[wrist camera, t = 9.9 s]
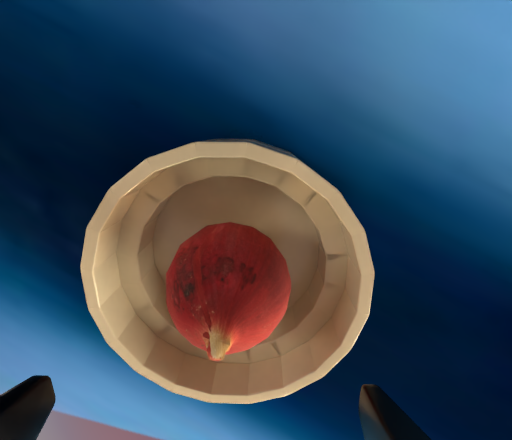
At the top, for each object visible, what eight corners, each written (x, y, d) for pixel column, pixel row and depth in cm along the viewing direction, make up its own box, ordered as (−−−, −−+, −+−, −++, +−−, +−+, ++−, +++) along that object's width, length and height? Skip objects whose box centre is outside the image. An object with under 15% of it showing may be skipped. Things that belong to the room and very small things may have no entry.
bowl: (354, 139, 16) (392, 142, 11) (335, 340, 20) (357, 407, 15) (116, 138, 16) (54, 141, 12) (143, 336, 20) (105, 399, 15)
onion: (168, 243, 17) (92, 331, 10) (244, 185, 16) (225, 234, 9) (229, 311, 19) (203, 436, 11) (304, 262, 17) (333, 365, 10)
